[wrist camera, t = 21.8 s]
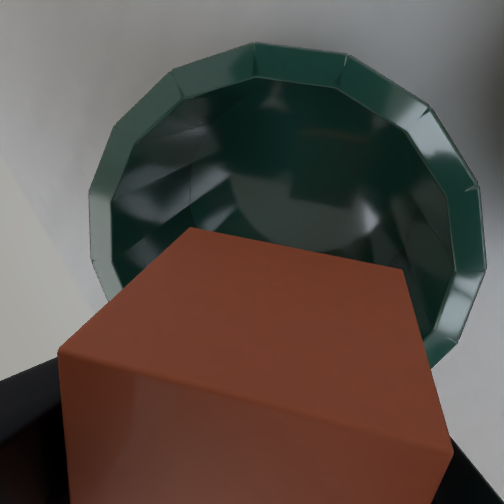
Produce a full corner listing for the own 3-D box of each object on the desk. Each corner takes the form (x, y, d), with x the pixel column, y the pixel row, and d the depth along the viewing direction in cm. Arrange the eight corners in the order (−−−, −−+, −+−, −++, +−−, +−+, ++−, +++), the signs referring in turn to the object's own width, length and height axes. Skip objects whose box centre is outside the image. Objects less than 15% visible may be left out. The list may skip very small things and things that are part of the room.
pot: (472, 82, 16) (562, 80, 9) (393, 334, 20) (413, 458, 14) (186, 45, 18) (81, 20, 11) (172, 284, 22) (94, 372, 15)
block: (403, 268, 8) (457, 453, 4) (352, 432, 10) (355, 672, 6) (189, 225, 9) (54, 349, 5) (178, 386, 11) (74, 575, 7)
